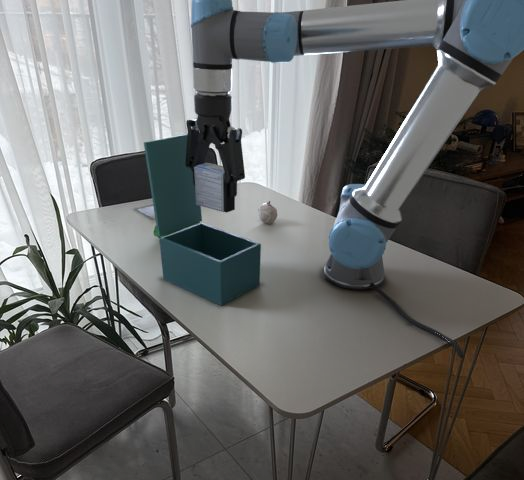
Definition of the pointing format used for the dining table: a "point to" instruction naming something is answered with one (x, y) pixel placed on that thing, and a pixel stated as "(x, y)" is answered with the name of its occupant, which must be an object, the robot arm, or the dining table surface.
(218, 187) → the medicine box
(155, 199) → the lunchbox lid
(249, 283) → the box
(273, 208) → the garlic bulb
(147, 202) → the dining table surface
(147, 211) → the architectural model
